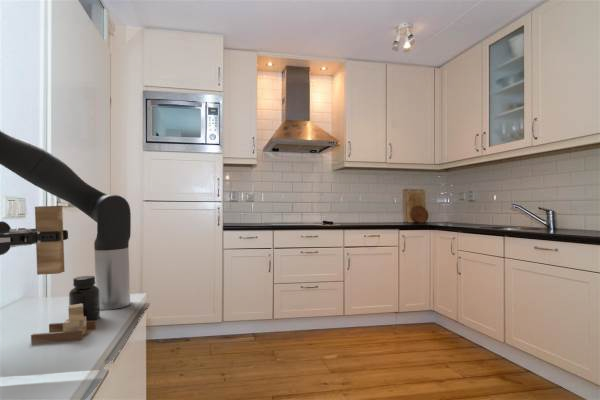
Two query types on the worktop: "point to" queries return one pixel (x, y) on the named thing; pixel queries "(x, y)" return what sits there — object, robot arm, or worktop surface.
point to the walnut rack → (62, 333)
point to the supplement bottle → (86, 297)
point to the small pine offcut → (75, 312)
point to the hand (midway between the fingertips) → (63, 235)
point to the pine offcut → (75, 326)
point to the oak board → (49, 252)
